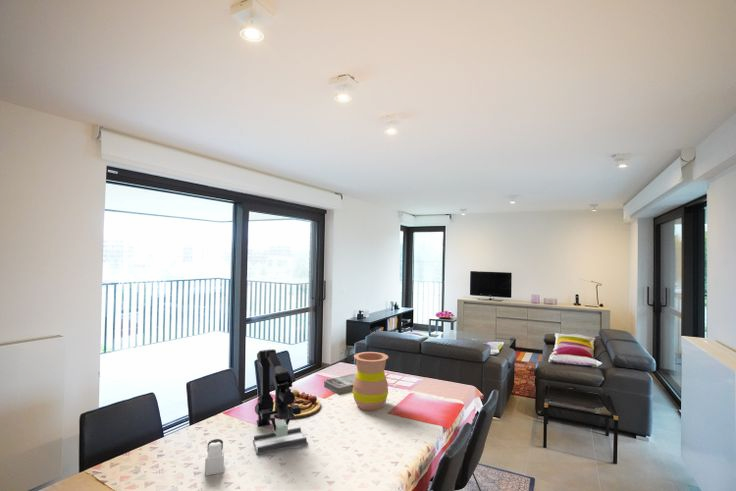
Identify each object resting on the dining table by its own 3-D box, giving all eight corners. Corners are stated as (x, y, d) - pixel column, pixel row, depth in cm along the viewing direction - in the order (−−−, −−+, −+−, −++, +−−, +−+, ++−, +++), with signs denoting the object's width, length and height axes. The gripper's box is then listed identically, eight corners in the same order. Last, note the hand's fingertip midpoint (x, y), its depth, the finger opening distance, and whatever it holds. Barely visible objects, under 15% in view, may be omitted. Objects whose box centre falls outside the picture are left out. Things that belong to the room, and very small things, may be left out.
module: (273, 430, 181) (273, 421, 182) (283, 428, 184) (283, 419, 184) (277, 437, 174) (277, 428, 174) (287, 435, 177) (287, 426, 177)
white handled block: (206, 466, 158) (206, 438, 159) (223, 463, 161) (224, 436, 161) (204, 476, 152) (205, 446, 152) (223, 472, 154) (224, 444, 155)
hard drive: (369, 386, 259) (369, 380, 259) (337, 394, 243) (337, 388, 243) (354, 379, 274) (355, 373, 274) (323, 386, 258) (323, 380, 258)
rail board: (252, 441, 180) (253, 435, 180) (300, 432, 190) (301, 426, 190) (256, 455, 168) (256, 448, 168) (307, 444, 178) (307, 438, 178)
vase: (388, 399, 236) (389, 352, 237) (387, 414, 214) (387, 362, 215) (354, 397, 238) (355, 351, 239) (349, 411, 216) (350, 360, 217)
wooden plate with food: (290, 425, 198) (291, 410, 199) (255, 408, 218) (256, 394, 219) (331, 408, 224) (332, 394, 224) (297, 394, 243) (297, 381, 244)
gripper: (264, 406, 168) (263, 441, 168) (304, 400, 176) (303, 433, 176) (260, 398, 178) (259, 430, 178) (298, 392, 186) (297, 423, 186)
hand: (280, 429), depth 179 cm, fingers closed on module, 5 cm apart
